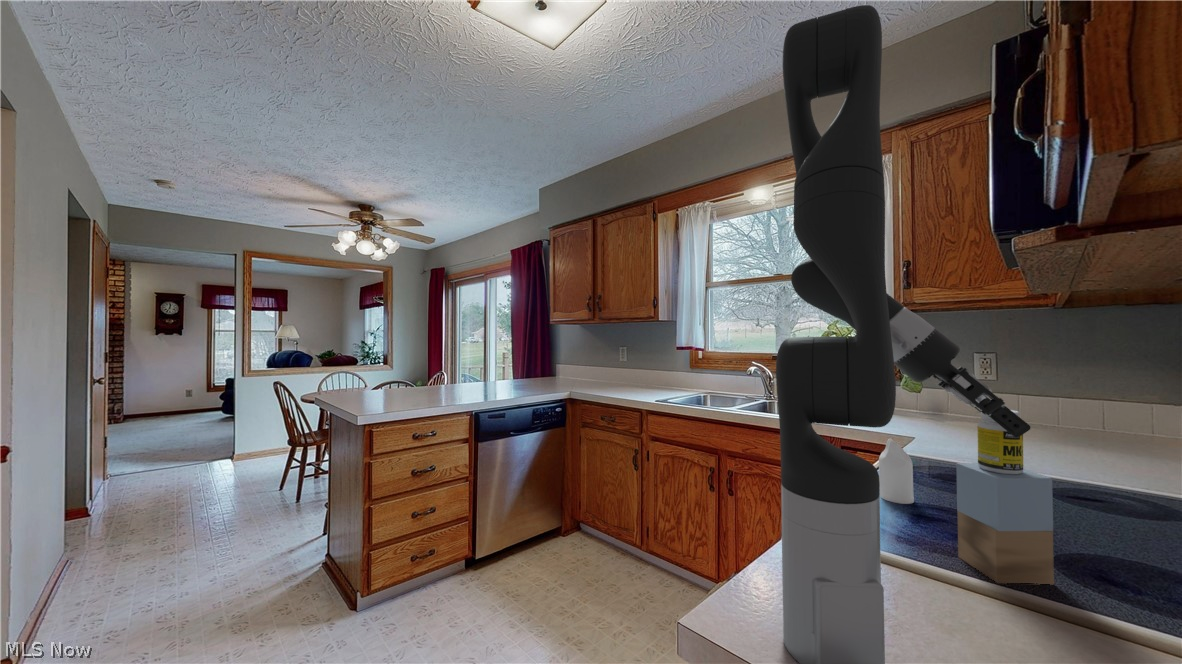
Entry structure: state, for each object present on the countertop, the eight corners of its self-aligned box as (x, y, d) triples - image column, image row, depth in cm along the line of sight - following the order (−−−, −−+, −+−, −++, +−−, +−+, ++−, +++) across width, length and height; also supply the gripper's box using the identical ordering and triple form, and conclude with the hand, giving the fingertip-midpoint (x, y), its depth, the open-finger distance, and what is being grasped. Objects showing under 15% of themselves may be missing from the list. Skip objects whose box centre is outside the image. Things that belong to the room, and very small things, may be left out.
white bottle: (920, 441, 87) (896, 443, 86) (921, 502, 87) (897, 505, 86) (892, 434, 93) (870, 436, 92) (893, 492, 93) (871, 494, 92)
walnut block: (1053, 585, 59) (1052, 531, 59) (996, 583, 60) (995, 530, 60) (1009, 558, 66) (1008, 510, 66) (958, 556, 66) (957, 509, 66)
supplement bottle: (1007, 476, 60) (1006, 413, 60) (969, 466, 64) (968, 408, 64) (1032, 473, 61) (1031, 411, 61) (993, 463, 66) (992, 406, 66)
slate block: (1053, 531, 59) (1052, 478, 59) (998, 531, 59) (997, 478, 59) (1005, 510, 66) (1004, 462, 66) (957, 510, 66) (956, 463, 66)
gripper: (941, 326, 60) (1060, 417, 55) (925, 326, 73) (1021, 401, 67) (894, 364, 63) (1004, 456, 57) (886, 358, 75) (976, 433, 70)
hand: (1013, 426), depth 62 cm, fingers open, 8 cm apart
